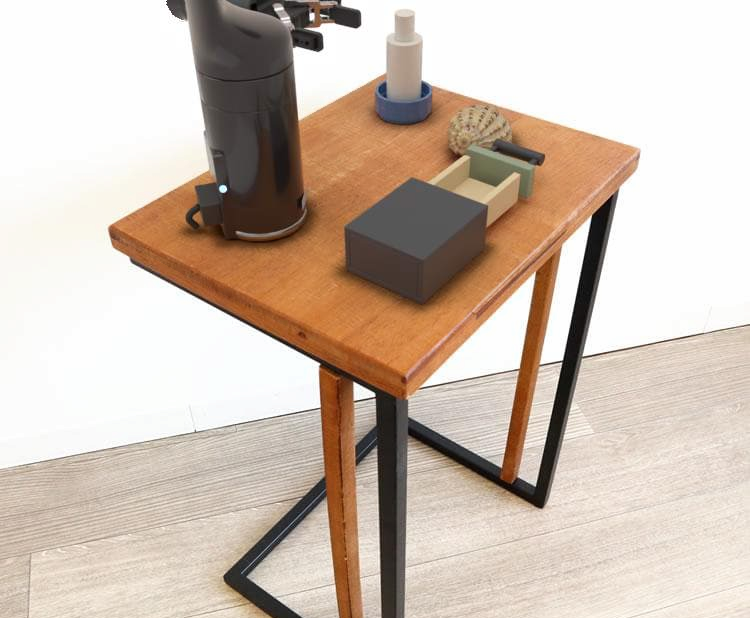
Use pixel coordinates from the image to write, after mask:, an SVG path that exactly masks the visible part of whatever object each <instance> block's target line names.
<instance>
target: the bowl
mask: <svg viewBox="0 0 750 618" xmlns="http://www.w3.org/2000/svg"><path fill="white" fill-rule="evenodd" d="M433 90H434V88H433V86H432V85H430V83H429V82H428V81H425V80H423V79H422V84H421V99H419V100H414V101H408V102H406V101H394V100H389V99H386V79H385V80H383V81H381V82H379V83H378V84H377V85H376V86H375V89H374V110H375V112H376V113H377V115H378V116H379V118H381V119H382V120H383V121H386V122H388V123H391V124H398V125H409V124H410V125H411V124H415V123H420V122H421V121H423V120H426V118H427V117H428V116H429V115H430V114H431V113H432V111H433Z"/></svg>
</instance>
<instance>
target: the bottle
mask: <svg viewBox="0 0 750 618" xmlns="http://www.w3.org/2000/svg"><path fill="white" fill-rule="evenodd" d="M415 21H416V12H415V10H413V9H409V8H401V9H397V10H396V11H394V32H392V33H389V34H388V35H387V36H386V38H385V43H386V45H385V49H386V50H385V51H386V52H385V53H386V54H385V57H386V63H385V71H386V72H385V78H386V79H385V80H386V99H389V100H394V101H406V102H408V101H414V100H419V99H421V84H422V80H423V78H422V77H423V44H424V43H423V42H424V38H423V36H422V35H421V34H420V33H418V32H415V30H416V29H415V28H416V27H415V26H416V22H415Z"/></svg>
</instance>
